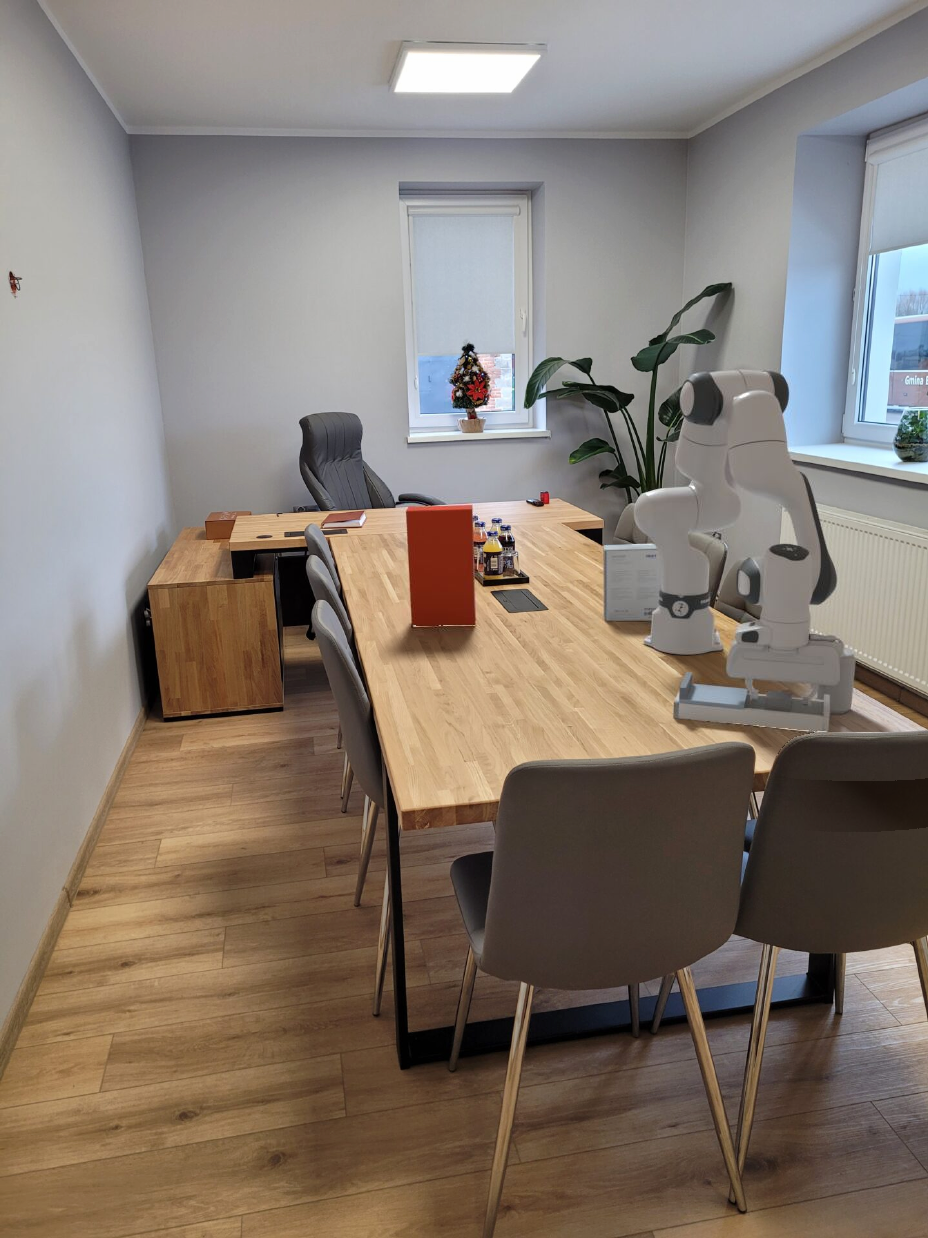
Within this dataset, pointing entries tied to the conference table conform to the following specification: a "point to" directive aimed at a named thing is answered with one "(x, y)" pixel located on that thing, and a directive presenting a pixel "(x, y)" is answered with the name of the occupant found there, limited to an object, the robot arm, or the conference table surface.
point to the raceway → (761, 714)
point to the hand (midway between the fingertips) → (780, 702)
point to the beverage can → (841, 685)
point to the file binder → (441, 565)
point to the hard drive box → (631, 581)
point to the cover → (711, 694)
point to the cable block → (778, 701)
